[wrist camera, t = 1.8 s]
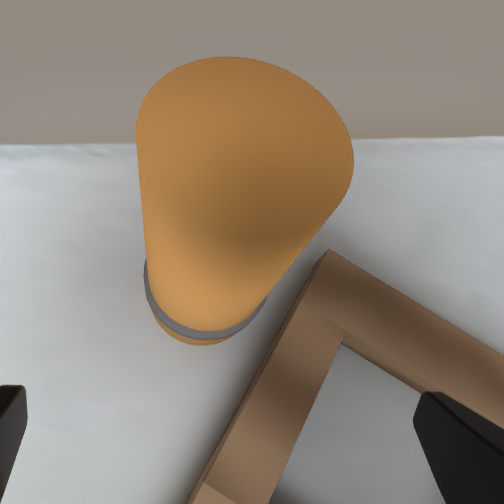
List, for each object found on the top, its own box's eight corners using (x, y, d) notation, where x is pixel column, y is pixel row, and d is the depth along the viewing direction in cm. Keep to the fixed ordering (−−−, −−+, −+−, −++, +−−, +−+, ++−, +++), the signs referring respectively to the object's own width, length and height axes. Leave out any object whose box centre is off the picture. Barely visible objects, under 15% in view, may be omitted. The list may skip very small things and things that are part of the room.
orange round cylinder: (219, 371, 22) (300, 294, 9) (122, 309, 22) (71, 152, 9) (273, 280, 25) (390, 126, 12) (187, 226, 25) (213, 20, 12)
